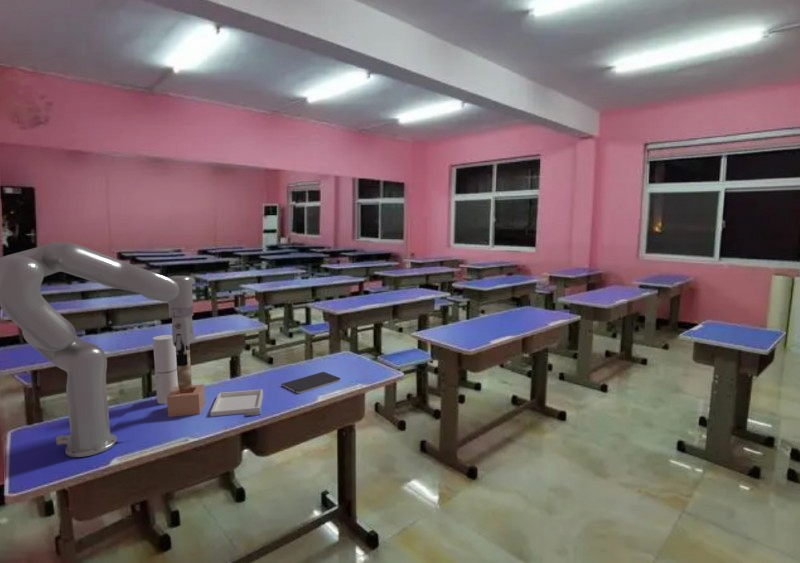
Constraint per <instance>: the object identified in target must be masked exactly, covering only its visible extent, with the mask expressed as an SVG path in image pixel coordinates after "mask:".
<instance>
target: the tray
mask: <svg viewBox="0 0 800 563" xmlns="http://www.w3.org/2000/svg"><path fill="white" fill-rule="evenodd" d="M263 399H264V389H263V388H261V389H251V390H250V389H249V390H239V391H238V390H237V391H226V392H225V391H223V392H219V393H218V395H217V397H216V399H215V401H214V403H213V406H212V408H211V410H210V417H219V416H220V417H221V416H231V415H239V414H240V415H243V414H244V415H243V416H244V417H246V416H249V415H250V416H257V415H258V416H259V414H260V415H261V410H262V406H263V405H262V404H263ZM250 416H249V417H250Z"/></svg>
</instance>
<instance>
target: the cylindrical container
mask: <svg viewBox="0 0 800 563" xmlns="http://www.w3.org/2000/svg"><path fill="white" fill-rule="evenodd" d="M152 348H153V360H154V376H155V389H156V403H158V404H160V405H167V396H168V395H169V393H170V392H171V391H172V389H173V388H174V387H177V386H179V381H178V366H177V354H176V346H174V345H173V338H172V334H162V335H156V336H154V337H152Z"/></svg>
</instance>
